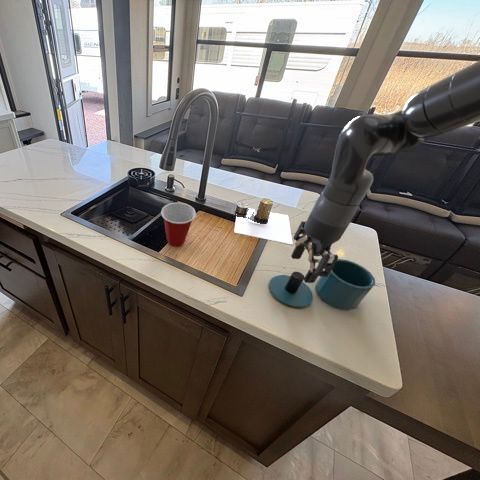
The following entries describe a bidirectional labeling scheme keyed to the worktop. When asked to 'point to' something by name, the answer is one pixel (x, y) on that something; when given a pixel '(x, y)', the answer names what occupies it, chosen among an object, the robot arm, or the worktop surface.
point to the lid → (291, 289)
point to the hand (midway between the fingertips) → (301, 269)
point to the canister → (345, 285)
